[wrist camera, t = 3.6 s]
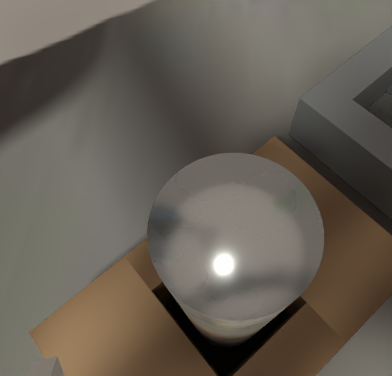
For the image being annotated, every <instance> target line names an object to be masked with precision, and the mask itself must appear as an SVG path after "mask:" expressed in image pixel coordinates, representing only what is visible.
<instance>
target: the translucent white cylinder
mask: <svg viewBox="0 0 392 376" xmlns="http://www.w3.org/2000/svg"><path fill="white" fill-rule="evenodd" d="M147 237H148V247H149V252H150V257H151V259H152V262H153V265H154V268H155V269H156V271H157V273H158V275H159V277H160V279H161V280H162V281H163V283H164V284H165V286H166V287H167V289H168V290H169V291H170V293H171V294H172V296H173V297H174V298H175V300H176V301H177V302H178V304H179V305H180V307H181V308H182V309H183V311H184V312H185V314H186V315H187V316H188V318H189V319H190V320H191V322H192V323H193V325H194V326H195V327H196V329H197V330H198V332H199V333H200V334H201V335H202V336H203V338H205V339H206V340H207V341H209V342H210V343H212V344H214V345H217V346H220V347H234V346H238V345H240V344H242V343H244V342H246V341H247V340H248V339H249V338H251V337H252V336H253V335H254V334H255V333H257V332H258V331H259V330H260V329H261V328H263V327H264V326H265V325H266V324H267V323H268V322H270V321H271V320H272V319H273V318H274V317H276V316H277V315H278V314H279V313H280V312H282V311H283V310H284V309H285V308H286V307H287V306H289V305H290V304H291V303H292V302H293V301H295V300H296V299H297V298H298V297H299V296H300V295H301V294H302V293H303V292H304V291H305V290H306V289H307V287H308V286H309V285H310V283H311V282H312V280H313V278H314V277H315V275H316V273H317V270H318V268H319V266H320V262H321V259H322V256H323V249H324V229H323V222H322V218H321V215H320V211H319V209H318V207H317V204H316V202H315V200H314V198H313V197H312V195H311V193H310V192H309V191H308V189H307V188H306V187H305V185H304V184H303V183H302V182H301V181H300V180H299V179H298V178H297V177H296V176H295V175H294V174H292V173H291V172H290V171H289V170H287V169H286V168H284V167H282V166H281V165H279V164H278V163H275V162H273V161H271V160H269V159H266V158H263V157H260V156H257V155H252V154H246V153H221V154H215V155H211V156H207V157H204V158H201V159H199V160H196V161H194V162H192V163H190V164H188V165H187V166H185V167H184V168H182V169H181V170H179V171H178V172H177V173H176V174H175V175H174V176H172V177H171V178H170V180H169V181H168V182H167V183H166V184H165V185H164V187H163V188H162V189H161V191H160V192H159V194H158V196H157V198H156V200H155V202H154V204H153V207H152V209H151V212H150V217H149V221H148V231H147Z"/></svg>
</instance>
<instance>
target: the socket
mask: <svg viewBox="0 0 392 376" xmlns="http://www.w3.org/2000/svg"><path fill="white" fill-rule="evenodd" d="M386 91H387V92H388V93H390V94H391V95H392V26H391V27H390V28H389V29H387V30H386V31H385V32H384V33H382V34H381V35H380V36H378V37H377V38H376V39H375V40H373V41H372V42H371V43H370V44H368V45H367V46H366V47H364V48H363V49H362V50H361V51H359V52H358V53H357V54H356V55H354V56H353V57H352V58H350V59H349V60H348V61H347V62H345V63H344V64H343V65H341V66H340V67H339V68H338V69H336V70H335V71H334V72H333V73H331V74H330V75H329V76H327V77H326V78H325V79H324V80H322V81H321V82H320V83H319V84H317V85H316V86H315V87H313V88H312V89H311V90H310V91H308V92H307V93H306V94H305V95H303V96H302V97H301V98H300V99H299V103H298V106H297V109H296V112H295V116H294V119H293V122H292V126H291V129H290V132H289V135H290V136H291V137H292V138H294V139H295V140H296V141H297V142H298V143H300V144H301V145H302V146H303V147H304V148H306V149H307V150H308V151H309V152H310V153H312V154H313V155H314V156H315V157H316V158H318V159H319V160H320V161H321V162H322V163H324V164H325V165H326V166H327V167H328V168H330V169H331V170H332V171H333V172H334V173H336V174H337V175H338V176H339V177H340V178H342V179H343V180H344V181H345V182H346V183H348V184H349V185H350V186H351V187H352V188H354V189H355V190H356V191H357V192H358V193H360V194H361V195H362V196H363V197H364V198H366V199H367V200H368V201H369V202H370V203H372V204H373V205H374V206H375V207H376V208H378V209H379V210H380V211H381V212H382V213H384V214H385V215H386V216H387V217H388V218H390V219H391V220H392V128H391V127H390V126H388V125H387V124H385V123H384V122H383V121H381V120H380V119H379V118H377V117H376V116H374V115H373V114H372V113H370V112H369V111H367V110H366V108H368V107H369V106H370V105H371V104H372V103H373V102H375V101H376V100H377V99H378V98H379V97H381V96H382V95H383V94H384V93H385V92H386Z"/></svg>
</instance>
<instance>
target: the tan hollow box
mask: <svg viewBox="0 0 392 376" xmlns="http://www.w3.org/2000/svg"><path fill="white" fill-rule="evenodd" d="M252 155H257V156H260V157H263V158H266V159H269V160H271V161H273V162H275V163H278V164H279V165H281V166H282V167H284V168H286V169H287V170H289V171H290V172H291V173H292V174H294V175H295V176H296V177H297V178H298V179H299V180H300V181H301V182H302V183H303V184H304V185H305V187H306V188H307V189H308V191H309V192H310V193H311V195H312V197H313V198H314V200H315V202H316V204H317V207H318V209H319V211H320V215H321V218H322V222H323V229H324V249H323V256H322V259H321V262H320V266H319V268H318V270H317V273H316V275H315V277H314V278H313V280H312V282H311V283H310V285H309V286H308V287H307V289H306V290H305V291H304V292H303V293H302V294H301V295H300V296H299V297H298V298H297V299H296V300H295V301H293V302H292V303H291V304H290V305H289V306H287V307H286V308H285V309H284V310H285V311H286V312H287V313H288V314H289V315H288V316H287V317H286V318H285V319H284V320H283V321H282V322H281V323H280V324H279V325H278V326H277V327H276V328H275V329H274V330H273V331H272V332H271V333H270V334H269V335H268V336H267V337H266V338H265V339H264V340H263V341H262V342H261V343H260V344H259V345H258V346H257V347H256V348H255V349H254V350H253V351H252V352H251V353H250V354H249V355H248V356H247V357H246V358H245V359H243V360H242V361H241V362H240V363H239V364H238V365H237V366H236V367H235V368H234V369H233V370H232V371H231V372H230V373H229V374H228V375H227V376H315V375H316V374H317V373H318V372H319V371H320V370H321V369H322V368H323V367H324V366H325V365H326V364H327V363H328V362H329V361H330V359H331V358H332V357H333V356H334V355H335V354H336V353H337V352H338V351H339V350H340V349H341V348H342V347H343V346H344V345H345V343H346V342H347V341H348V340H349V339H350V338H351V337H352V336H353V335H354V334H355V333H356V332H357V331H358V330H359V329H360V327H361V326H362V325H363V324H364V323H365V322H366V321H367V320H368V319H369V318H370V317H371V316H372V315H373V314H374V313H375V312H376V310H377V309H378V308H379V307H380V306H381V305H382V304H383V303H384V302H385V301H386V300H387V299H388V298H389V297H390V296H391V294H392V235H391V234H389V233H388V232H387V231H386V230H385V229H384V228H382V227H381V226H380V225H379V224H378V223H376V222H375V221H374V220H373V219H372V218H371V217H369V216H368V215H367V214H366V213H365V212H364V211H362V210H361V209H360V208H359V207H358V206H357V205H355V204H354V203H353V202H352V201H351V200H349V199H348V198H347V197H346V196H345V195H344V194H342V193H341V192H340V191H339V190H338V189H337V188H335V187H334V186H333V185H332V184H331V183H330V182H328V181H327V180H326V179H325V178H324V177H322V176H321V175H320V174H319V173H318V172H317V171H315V170H314V169H313V168H312V167H311V166H310V165H308V164H307V163H306V162H305V161H304V160H302V159H301V158H300V157H299V156H298V155H297V154H295V153H294V152H293V151H292V150H291V149H290V148H288V147H287V146H286V145H285V144H284V143H283V142H281V141H280V140H279V139H278V138H277V137H275V136H274V137H272V138H271V139H270V140H269V141H267V142H266V143H265V144H264V145H262V146H261V147H260V148H259V149H257V150H256V151H255V152H254V153H252ZM173 298H174V297H173V296H172V294H171V293H170V291H169V290H168V289H167V287H166V286H165V284H164V283H163V281H162V280H161V279H160V277H159V275H158V273H157V271H156V269H155V268H154V265H153V262H152V259H151V257H150V252H149V247H148V238H146V239H145V240H144V241H143V242H141V243H140V244H139V245H138V246H136V247H135V248H134V249H133V250H131V251H130V252H129V253H128V254H126V255H125V256H124V257H123V258H121V259H120V260H119V261H118V262H116V263H115V264H114V265H113V266H111V267H110V268H109V269H108V270H106V271H105V272H104V273H103V274H101V275H100V276H99V277H98V278H96V279H95V280H94V281H93V282H91V283H90V284H89V285H88V286H86V287H85V288H84V289H83V290H81V291H80V292H79V293H78V294H76V295H75V296H74V297H73V298H71V299H70V300H69V301H68V302H66V303H65V304H64V305H63V306H61V307H60V308H59V309H58V310H56V311H55V312H54V313H53V314H51V315H50V316H49V317H48V318H46V319H45V320H44V321H43V322H41V323H40V324H39V325H38V326H37V327H35V328H34V329H33V330H32V331H30V332H29V333H30V335H31V337H32V338H33V340H34V342H35V344H36V345H37V347H38V349H39V350H40V352H41V354H42V355H43V357H44V359H47V358H52V357H58V359H59V362H60V365H61V368H62V370H63V373H64V376H220V375H219V374H218V373H217V371H216V370H215V369H214V367H213V366H212V365H211V364H210V362H209V361H208V360H207V358H206V357H205V356H204V355H203V353H202V352H201V351H200V349H199V348H198V347H197V346H196V344H195V343H194V342H193V340H192V339H191V338H190V337H189V335H188V334H187V333H186V332H185V330H184V329H183V328H182V326H181V325H180V324H179V323H178V321H177V320H176V319H175V317H174V316H173V315H172V314H171V312H170V311H169V310H168V308H167V307H166V306H165V305H166V304H167V303H168V302H169V301H171V300H172V299H173Z"/></svg>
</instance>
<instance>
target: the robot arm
mask: <svg viewBox="0 0 392 376" xmlns="http://www.w3.org/2000/svg"><path fill="white" fill-rule="evenodd" d="M26 376H64V373H63V370H62V368H61V365H60V362H59V359H58V357H52V358H47V359H42V360H37V361H32V363H31V365H30V367H29V369H28V371H27V374H26Z"/></svg>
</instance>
